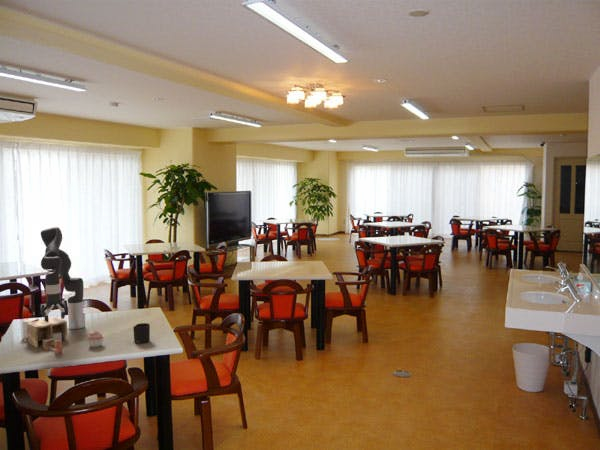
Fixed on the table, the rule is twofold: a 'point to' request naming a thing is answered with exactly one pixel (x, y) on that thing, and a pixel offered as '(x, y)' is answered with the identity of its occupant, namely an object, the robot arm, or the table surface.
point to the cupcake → (95, 339)
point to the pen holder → (141, 333)
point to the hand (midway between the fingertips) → (54, 320)
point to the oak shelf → (45, 330)
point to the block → (57, 335)
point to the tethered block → (53, 345)
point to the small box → (26, 326)
